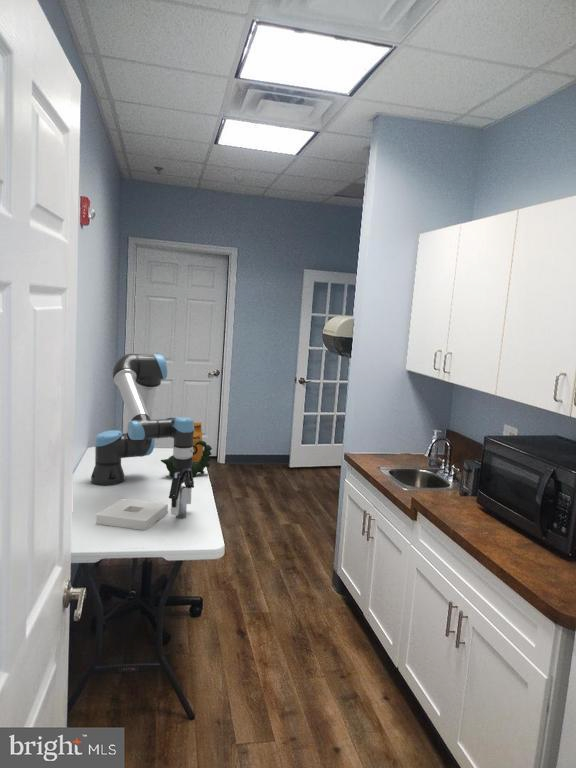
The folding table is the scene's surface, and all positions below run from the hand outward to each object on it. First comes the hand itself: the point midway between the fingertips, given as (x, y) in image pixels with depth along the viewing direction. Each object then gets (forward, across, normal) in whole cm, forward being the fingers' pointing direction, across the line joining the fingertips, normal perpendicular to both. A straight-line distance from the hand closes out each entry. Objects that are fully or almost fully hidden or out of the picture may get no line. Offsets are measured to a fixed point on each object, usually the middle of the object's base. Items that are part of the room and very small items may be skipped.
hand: (181, 509), depth 217 cm
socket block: (+3, -7, +17) cm, 19 cm away
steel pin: (+3, 0, 0) cm, 3 cm away
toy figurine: (+4, +53, +19) cm, 57 cm away
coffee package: (+3, +81, +26) cm, 85 cm away
